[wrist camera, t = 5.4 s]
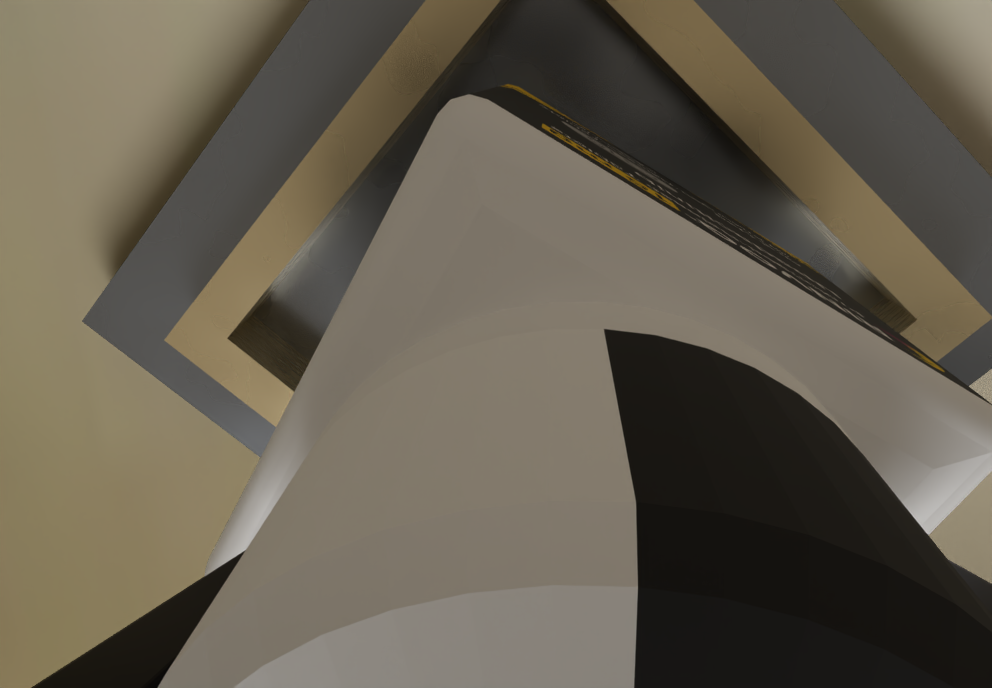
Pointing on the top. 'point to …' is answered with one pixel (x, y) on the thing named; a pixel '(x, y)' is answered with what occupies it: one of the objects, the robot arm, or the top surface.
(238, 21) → the top surface
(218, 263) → the picture frame
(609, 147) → the medicine bottle
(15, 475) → the top surface
